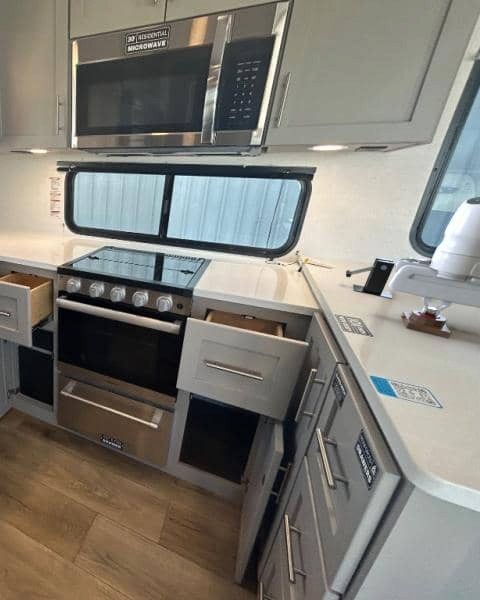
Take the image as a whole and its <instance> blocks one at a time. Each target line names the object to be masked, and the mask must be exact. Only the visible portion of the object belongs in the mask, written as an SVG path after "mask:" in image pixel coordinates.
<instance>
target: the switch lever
mask: <svg viewBox="0 0 480 600" xmlns="http://www.w3.org/2000/svg"><path fill="white" fill-rule="evenodd" d="M386 262H388V261H386ZM373 268H374V266H373V265H371V266H369V267H364V268H360V269H355V270H350V269H347V270H346V271H345V277H346V278H351V277H352V276H353V275H358V274H362V273H365V272H370V271H371V270H373Z"/></svg>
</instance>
